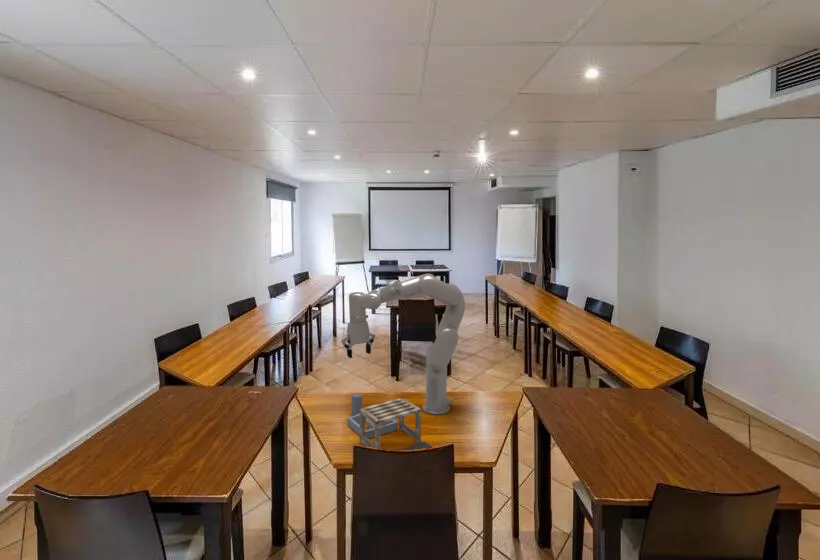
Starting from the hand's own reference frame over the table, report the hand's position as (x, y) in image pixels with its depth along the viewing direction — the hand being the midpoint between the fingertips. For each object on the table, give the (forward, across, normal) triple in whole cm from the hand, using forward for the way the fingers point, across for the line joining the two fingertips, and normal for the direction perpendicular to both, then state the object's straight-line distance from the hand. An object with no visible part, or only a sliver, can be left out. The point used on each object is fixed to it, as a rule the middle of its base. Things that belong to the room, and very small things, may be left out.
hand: (359, 355), depth 196 cm
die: (+26, +5, +22) cm, 35 cm away
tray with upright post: (+26, +5, +15) cm, 30 cm away
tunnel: (+26, +6, +34) cm, 43 cm away
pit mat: (+27, +1, +44) cm, 52 cm away
